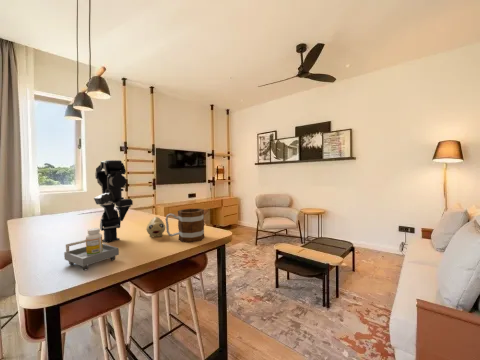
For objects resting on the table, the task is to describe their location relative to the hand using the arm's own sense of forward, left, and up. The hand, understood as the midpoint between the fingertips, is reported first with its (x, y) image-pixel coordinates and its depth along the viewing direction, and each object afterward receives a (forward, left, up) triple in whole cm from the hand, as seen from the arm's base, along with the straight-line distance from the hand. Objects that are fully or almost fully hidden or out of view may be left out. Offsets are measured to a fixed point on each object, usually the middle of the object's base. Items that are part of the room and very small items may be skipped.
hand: (115, 220), depth 107 cm
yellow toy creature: (+2, +21, -13) cm, 25 cm away
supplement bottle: (+10, -15, -10) cm, 20 cm away
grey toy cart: (+10, -16, -13) cm, 22 cm away
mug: (+20, +25, -13) cm, 35 cm away
